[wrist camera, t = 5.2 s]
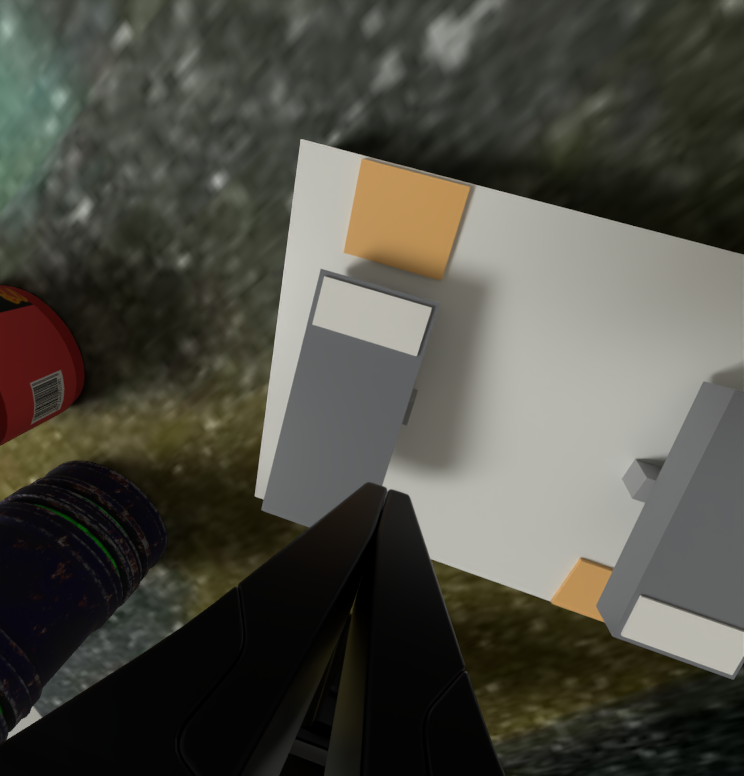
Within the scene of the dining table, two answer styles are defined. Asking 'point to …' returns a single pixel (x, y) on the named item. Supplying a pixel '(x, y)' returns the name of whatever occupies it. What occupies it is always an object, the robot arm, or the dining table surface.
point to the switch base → (517, 360)
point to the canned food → (34, 363)
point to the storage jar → (66, 571)
